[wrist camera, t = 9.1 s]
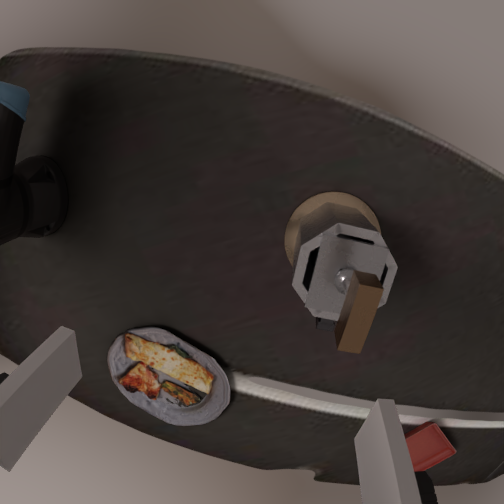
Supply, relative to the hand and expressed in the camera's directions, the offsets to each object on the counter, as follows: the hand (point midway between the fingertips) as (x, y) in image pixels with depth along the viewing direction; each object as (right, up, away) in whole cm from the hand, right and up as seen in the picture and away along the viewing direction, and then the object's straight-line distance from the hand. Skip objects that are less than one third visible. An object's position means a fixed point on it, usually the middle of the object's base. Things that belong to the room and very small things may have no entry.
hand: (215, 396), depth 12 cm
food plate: (-15, -18, +47) cm, 52 cm away
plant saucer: (+38, -40, +46) cm, 72 cm away
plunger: (+12, +6, +30) cm, 33 cm away
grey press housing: (+13, +8, +33) cm, 37 cm away
